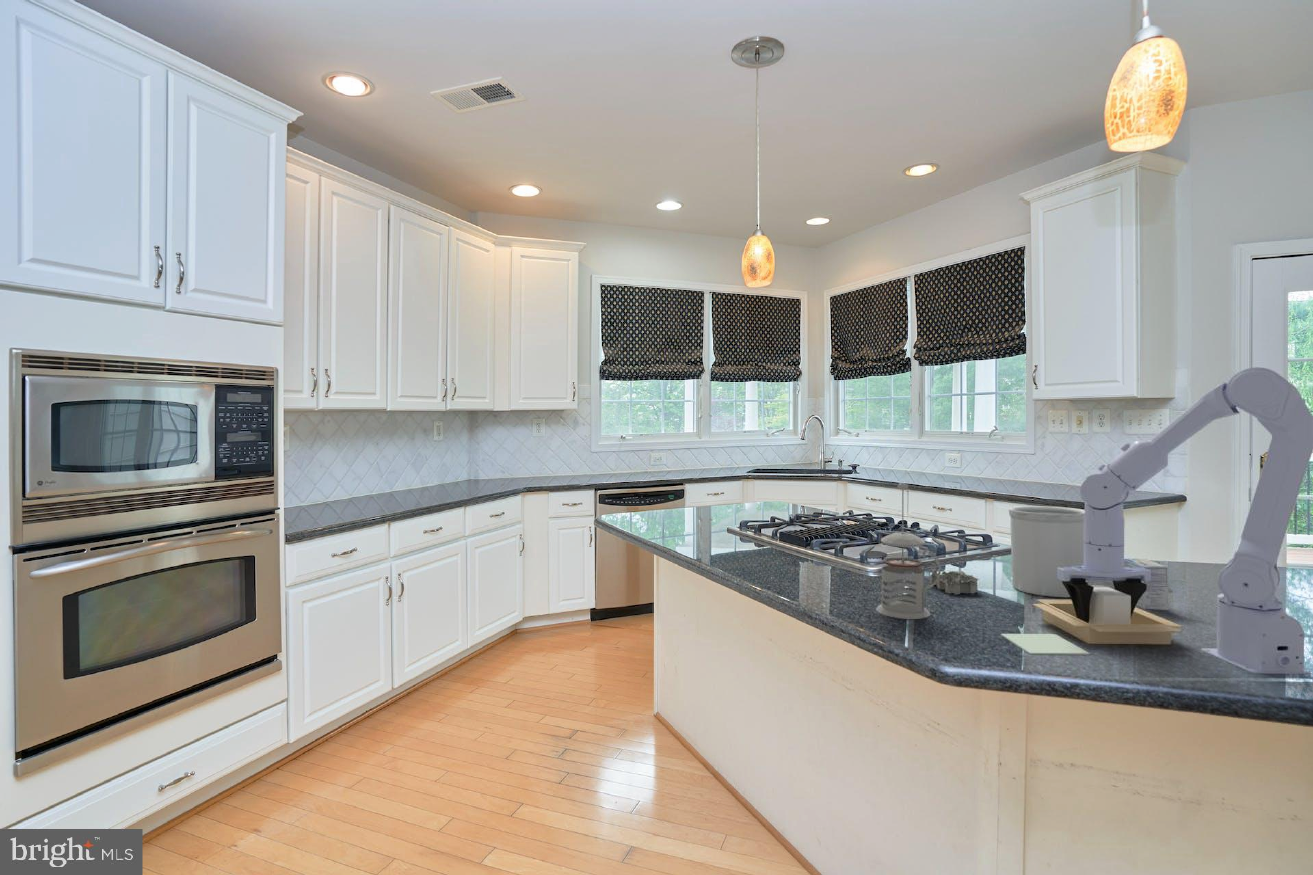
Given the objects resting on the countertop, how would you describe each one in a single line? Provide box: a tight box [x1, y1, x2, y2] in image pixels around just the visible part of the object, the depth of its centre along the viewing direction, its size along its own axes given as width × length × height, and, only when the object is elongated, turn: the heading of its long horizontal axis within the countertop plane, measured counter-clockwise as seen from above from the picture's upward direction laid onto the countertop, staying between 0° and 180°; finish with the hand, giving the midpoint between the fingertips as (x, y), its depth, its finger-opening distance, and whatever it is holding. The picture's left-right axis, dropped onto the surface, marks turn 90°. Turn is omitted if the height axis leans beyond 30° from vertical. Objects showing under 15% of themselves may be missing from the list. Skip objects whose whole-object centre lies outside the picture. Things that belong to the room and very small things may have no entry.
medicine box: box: [1124, 557, 1169, 611], centre depth 126 cm, size 8×4×9 cm, turn 168°
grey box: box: [1088, 584, 1131, 624], centre depth 110 cm, size 7×4×7 cm, turn 178°
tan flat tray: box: [1032, 598, 1184, 645], centre depth 110 cm, size 18×17×3 cm
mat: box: [1000, 633, 1090, 656], centre depth 103 cm, size 9×9×1 cm
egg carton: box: [927, 566, 980, 595], centre depth 140 cm, size 11×8×4 cm
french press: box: [875, 482, 942, 620], centre depth 123 cm, size 10×12×25 cm
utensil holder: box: [1008, 505, 1088, 598], centre depth 138 cm, size 15×15×18 cm
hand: (1103, 622), depth 110 cm, fingers open, 6 cm apart
